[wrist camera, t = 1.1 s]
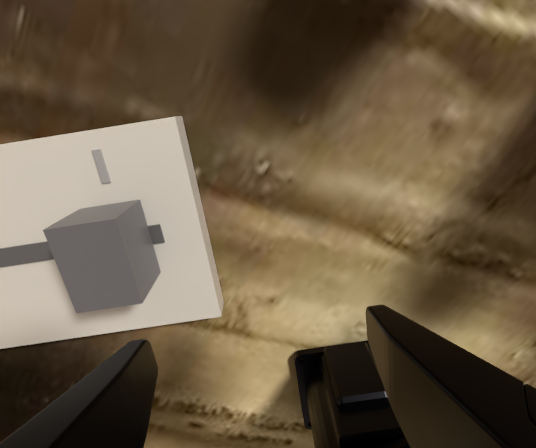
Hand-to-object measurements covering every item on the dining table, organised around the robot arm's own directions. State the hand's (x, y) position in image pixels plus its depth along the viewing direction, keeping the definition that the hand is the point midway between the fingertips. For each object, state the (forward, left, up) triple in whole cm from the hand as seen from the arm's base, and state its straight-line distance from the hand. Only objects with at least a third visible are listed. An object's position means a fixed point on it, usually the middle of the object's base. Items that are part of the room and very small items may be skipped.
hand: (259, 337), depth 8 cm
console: (0, +13, -11) cm, 17 cm away
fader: (0, +7, -9) cm, 11 cm away
